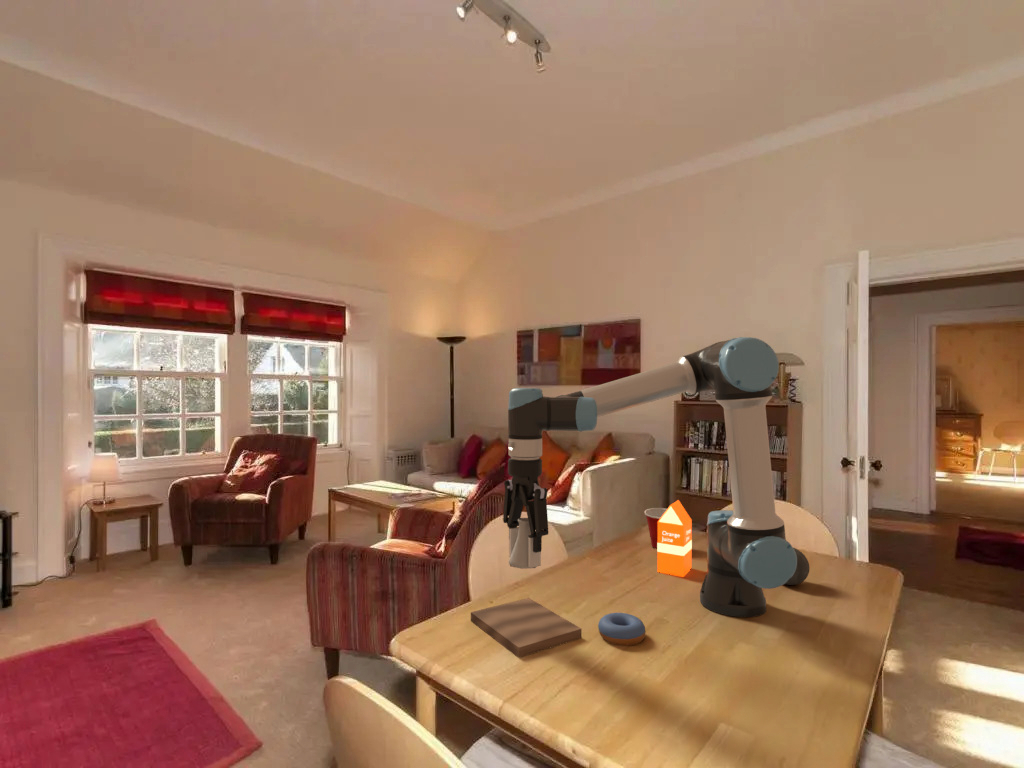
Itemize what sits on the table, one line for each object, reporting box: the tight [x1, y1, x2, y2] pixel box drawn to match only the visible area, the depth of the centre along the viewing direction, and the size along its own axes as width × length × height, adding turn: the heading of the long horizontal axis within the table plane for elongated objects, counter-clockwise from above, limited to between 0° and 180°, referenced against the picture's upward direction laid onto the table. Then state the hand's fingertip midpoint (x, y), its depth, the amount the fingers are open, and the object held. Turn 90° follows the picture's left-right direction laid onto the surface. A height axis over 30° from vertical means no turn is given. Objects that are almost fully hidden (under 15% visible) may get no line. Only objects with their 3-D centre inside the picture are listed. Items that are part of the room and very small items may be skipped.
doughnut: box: [597, 612, 646, 647], centre depth 118 cm, size 10×10×5 cm
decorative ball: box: [784, 547, 810, 586], centre depth 150 cm, size 10×10×10 cm
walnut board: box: [470, 597, 582, 659], centre depth 121 cm, size 20×16×2 cm
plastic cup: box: [644, 507, 668, 550], centre depth 183 cm, size 11×11×12 cm
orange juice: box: [656, 499, 693, 578], centre depth 160 cm, size 8×9×20 cm
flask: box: [508, 517, 539, 570], centre depth 121 cm, size 7×7×10 cm
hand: (524, 561), depth 121 cm, fingers closed on flask, 7 cm apart
